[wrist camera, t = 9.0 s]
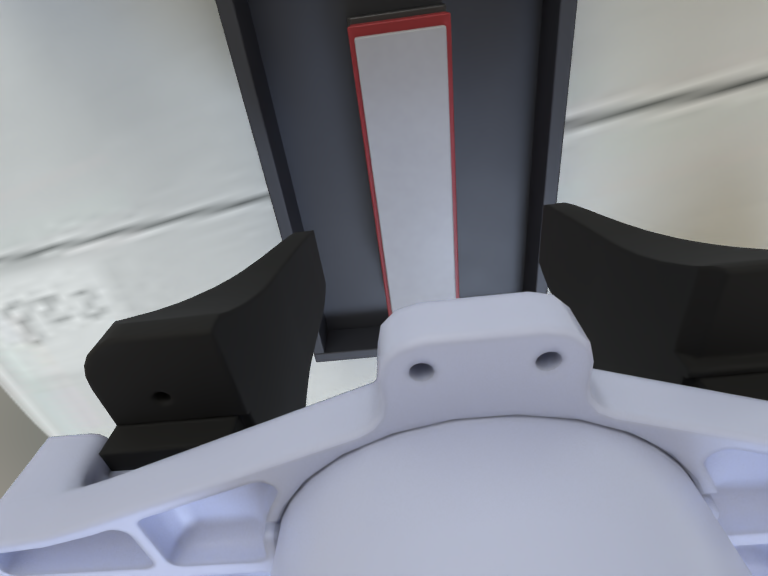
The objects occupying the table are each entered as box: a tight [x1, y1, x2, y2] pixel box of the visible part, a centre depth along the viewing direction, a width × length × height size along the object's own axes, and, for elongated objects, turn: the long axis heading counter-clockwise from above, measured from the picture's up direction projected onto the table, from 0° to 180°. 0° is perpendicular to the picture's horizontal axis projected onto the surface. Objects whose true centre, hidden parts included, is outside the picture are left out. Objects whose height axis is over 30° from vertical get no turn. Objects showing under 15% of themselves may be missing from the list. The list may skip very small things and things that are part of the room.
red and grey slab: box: [346, 3, 459, 316], centre depth 18 cm, size 13×4×4 cm, turn 7°
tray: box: [215, 0, 577, 362], centre depth 19 cm, size 18×12×2 cm
